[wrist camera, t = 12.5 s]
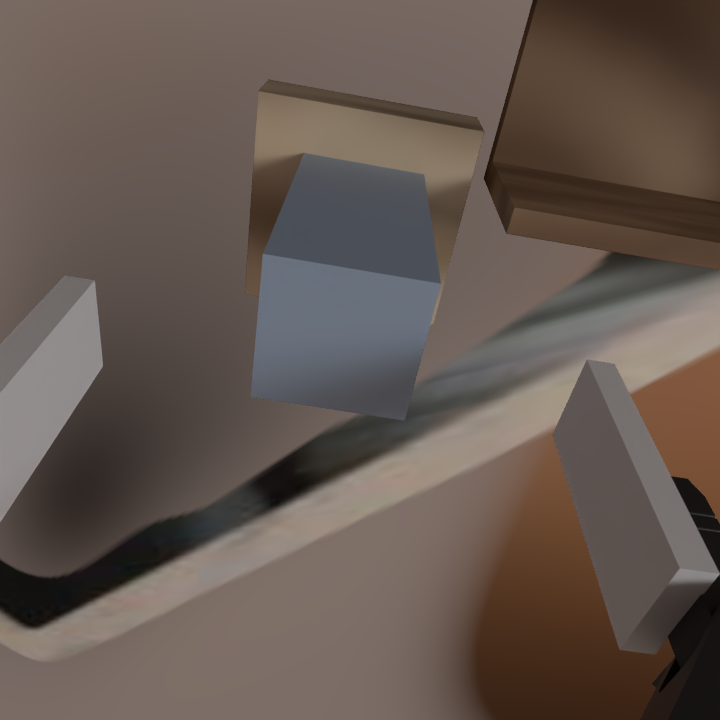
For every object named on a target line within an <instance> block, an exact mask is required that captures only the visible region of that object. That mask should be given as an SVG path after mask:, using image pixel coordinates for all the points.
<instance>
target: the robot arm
mask: <svg viewBox="0 0 720 720" xmlns="http://www.w3.org/2000/svg"><path fill="white" fill-rule="evenodd" d="M102 367H103V360H102V350H101V339H100V329H99V318H98V308H97V298H96V287H95V280H90V279H84V278H78V277H72V276H66V275H65V276H64V277H63V278H62V279H61V280H60V281H59V282H58V283H57V284H56V285H55V286H54V288H52V289H51V291H50V292H49V293H48V294H47V295H46V296H45V297H44V298H43V299H42V300H41V301H40V302H39V303H38V305H37V306H36V307H35V308H34V309H33V310H32V311H31V312H30V313H29V314H28V315H27V316H26V317H25V318H24V319H23V320H22V322H21V323H20V324H19V325H18V326H17V327H16V328H15V329H14V330H13V331H12V332H11V333H10V334H9V336H8V337H7V338H6V339H5V340H4V341H3V342H2V343H1V344H0V522H1V520H2V519H3V517H4V516H5V514H6V512H7V511H8V509H9V508H10V506H11V505H12V503H13V502H14V500H15V499H16V497H17V496H18V494H19V493H20V491H21V490H22V488H23V487H24V485H25V483H26V482H27V481H28V479H29V477H30V476H31V474H32V473H33V471H34V470H35V468H36V467H37V465H38V464H39V462H40V461H41V459H42V458H43V456H44V455H45V453H46V452H47V450H48V449H49V447H50V446H51V444H52V443H53V441H54V440H55V438H56V437H57V435H58V434H59V432H60V430H61V429H62V427H63V426H64V424H65V422H66V421H67V420H68V418H69V417H70V415H71V414H72V412H73V411H74V409H75V408H76V406H77V404H78V403H79V401H80V400H81V398H82V397H83V395H84V394H85V392H86V391H87V389H88V388H89V386H90V385H91V383H92V382H93V380H94V379H95V377H96V376H97V374H98V373H99V371H100V370H101V368H102ZM553 438H554V441H555V444H556V448H557V451H558V454H559V457H560V460H561V463H562V467H563V470H564V473H565V476H566V480H567V483H568V486H569V489H570V492H571V495H572V499H573V502H574V505H575V508H576V511H577V515H578V518H579V521H580V524H581V527H582V531H583V534H584V537H585V540H586V544H587V546H588V550H589V553H590V556H591V560H592V563H593V566H594V569H595V572H596V575H597V579H598V582H599V585H600V588H601V592H602V595H603V598H604V601H605V605H606V608H607V611H608V614H609V617H610V621H611V624H612V627H613V630H614V633H615V636H616V640H617V643H618V646H619V649H620V650H625V651H633V652H640V653H647V654H656V653H657V651H658V650H659V649H660V648H661V646H662V645H663V644H664V643H665V642H666V640H667V639H669V641H670V644H671V646H672V649H673V652H674V654H675V657H674V659H673V660H672V661H671V662H670V663H669V664H668V666H667V667H666V668H665V669H664V670H663V672H662V673H661V674H660V675H659V676H658V677H657V679H656V680H655V681H654V682H653V685H654V686H655V687H656V689H655V691H654V693H653V695H652V697H651V699H650V701H649V703H648V705H647V706H646V709H645V710H644V712H643V714H642V716H641V718H640V720H720V524H719V522H718V520H717V519H715V514H714V513H713V511H712V509H711V507H710V505H709V504H708V502H707V500H706V498H705V496H704V495H703V494H701V492H700V491H699V490H698V489H697V488H696V487H695V486H694V485H693V484H692V483H691V482H690V481H689V480H688V479H684V478H678V477H672V476H670V474H669V472H668V470H667V468H666V466H665V464H664V462H663V460H662V458H661V456H660V454H659V452H658V450H657V448H656V446H655V444H654V442H653V440H652V438H651V436H650V434H649V432H648V430H647V428H646V426H645V424H644V422H643V420H642V418H641V416H640V414H639V412H638V410H637V408H636V406H635V404H634V402H633V400H632V398H631V396H630V394H629V392H628V390H627V388H626V386H625V384H624V382H623V380H622V378H621V376H620V374H619V372H618V370H617V368H616V366H615V364H611V363H605V362H599V361H593V360H587V361H586V363H585V365H584V367H583V369H582V372H581V374H580V376H579V378H578V380H577V383H576V385H575V387H574V389H573V391H572V394H571V396H570V398H569V400H568V402H567V404H566V407H565V409H564V411H563V413H562V415H561V418H560V420H559V422H558V424H557V426H556V429H555V431H554V433H553Z"/></svg>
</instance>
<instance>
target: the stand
mask: <svg viewBox="0 0 720 720" xmlns="http://www.w3.org/2000/svg"><path fill="white" fill-rule="evenodd" d="M483 135H484V130H483V128H482V127H481V124H480V122H479V121H478V119H477V117H471V116H466V115H460V114H455V113H449V112H444V111H439V110H433V109H428V108H422V107H416V106H411V105H406V104H400V103H395V102H389V101H384V100H378V99H372V98H367V97H362V96H356V95H351V94H345V93H340V92H334V91H328V90H323V89H318V88H312V87H306V86H301V85H295V84H290V83H284V82H279V81H273V80H268V81H267V82H266V83H265V84H264V85H263V86H262V88H261V89H260V90H259V91H258V104H257V119H256V134H255V149H254V164H253V179H252V194H251V209H250V225H249V239H248V256H247V269H246V285H245V294H246V295H252V296H258V297H259V295H260V283H261V271H262V259H263V253H264V250H265V248H266V245H267V243H268V240H269V238H270V235H271V233H272V230H273V228H274V226H275V223H276V221H277V218H278V216H279V213H280V211H281V208H282V206H283V203H284V201H285V199H286V196H287V194H288V191H289V189H290V186H291V184H292V181H293V179H294V177H295V174H296V172H297V169H298V167H299V164H300V162H301V159H302V157H303V154H304V153H307V154H313V155H319V156H324V157H330V158H335V159H341V160H346V161H352V162H358V163H363V164H369V165H374V166H380V167H386V168H391V169H397V170H402V171H408V172H414V173H419V174H424V177H425V183H426V190H427V196H428V203H429V209H430V215H431V222H432V228H433V235H434V241H435V248H436V254H437V260H438V267H439V273H440V280H441V286H440V290H439V294H438V297H437V301H436V305H435V309H434V312H433V316H432V320H431V324H432V325H433V323H434V320H435V316H436V312H437V308H438V305H439V301H440V297H441V293H442V289H443V286H444V282H445V278H446V274H447V271H448V266H449V263H450V259H451V255H452V251H453V248H454V244H455V241H456V236H457V233H458V229H459V225H460V221H461V218H462V214H463V210H464V207H465V203H466V199H467V195H468V191H469V188H470V184H471V180H472V177H473V173H474V169H475V165H476V161H477V158H478V154H479V150H480V146H481V142H482V139H483Z"/></svg>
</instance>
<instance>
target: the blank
mask: <svg viewBox="0 0 720 720" xmlns="http://www.w3.org/2000/svg"><path fill="white" fill-rule="evenodd" d="M440 286H441V280H440V273H439V267H438V260H437V254H436V248H435V241H434V235H433V228H432V222H431V215H430V209H429V203H428V196H427V190H426V183H425V177H424V174H419V173H414V172H408V171H402V170H397V169H391V168H386V167H380V166H374V165H369V164H363V163H358V162H352V161H346V160H341V159H335V158H330V157H324V156H319V155H313V154H307V153H304V154H303V157H302V159H301V162H300V164H299V167H298V169H297V172H296V174H295V177H294V179H293V181H292V184H291V186H290V189H289V191H288V194H287V196H286V199H285V201H284V203H283V206H282V208H281V211H280V213H279V216H278V218H277V221H276V223H275V226H274V228H273V230H272V233H271V235H270V238H269V240H268V243H267V245H266V248H265V250H264V253H263V259H262V271H261V283H260V295H259V307H258V318H257V330H256V342H255V354H254V365H253V377H252V389H251V397H255V398H262V399H268V400H275V401H281V402H288V403H294V404H301V405H307V406H314V407H320V408H326V409H333V410H339V411H346V412H353V413H359V414H365V415H372V416H378V417H385V418H391V419H398V420H404V421H405V418H406V414H407V410H408V406H409V403H410V399H411V395H412V391H413V388H414V384H415V380H416V376H417V372H418V369H419V365H420V361H421V357H422V354H423V350H424V346H425V343H426V339H427V335H428V331H429V327H430V324H431V320H432V316H433V312H434V309H435V305H436V301H437V297H438V294H439V290H440Z"/></svg>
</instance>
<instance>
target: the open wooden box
mask: <svg viewBox="0 0 720 720" xmlns="http://www.w3.org/2000/svg"><path fill="white" fill-rule="evenodd" d="M484 180H485V182H486V185H487V187H488V189H489V192H490V194H491V197H492V199H493V202H494V204H495V207H496V209H497V211H498V214H499V217H500V219H501V221H502V224H503V226H504V229H505V231H506V233H507V234H512V235H518V236H524V237H530V238H536V239H541V240H547V241H554V242H559V243H565V244H571V245H577V246H582V247H588V248H594V249H600V250H605V251H611V252H617V253H623V254H629V255H635V256H641V257H646V258H652V259H658V260H664V261H670V262H676V263H681V264H687V265H693V266H699V267H705V268H711V269H717V270H720V0H533V2H532V6H531V9H530V13H529V17H528V21H527V24H526V28H525V31H524V35H523V38H522V42H521V46H520V49H519V53H518V57H517V60H516V64H515V67H514V71H513V75H512V78H511V82H510V86H509V89H508V93H507V96H506V100H505V104H504V107H503V111H502V114H501V118H500V122H499V126H498V129H497V133H496V136H495V140H494V143H493V147H492V151H491V154H490V158H489V162H488V165H487V169H486V172H485V176H484Z"/></svg>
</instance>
